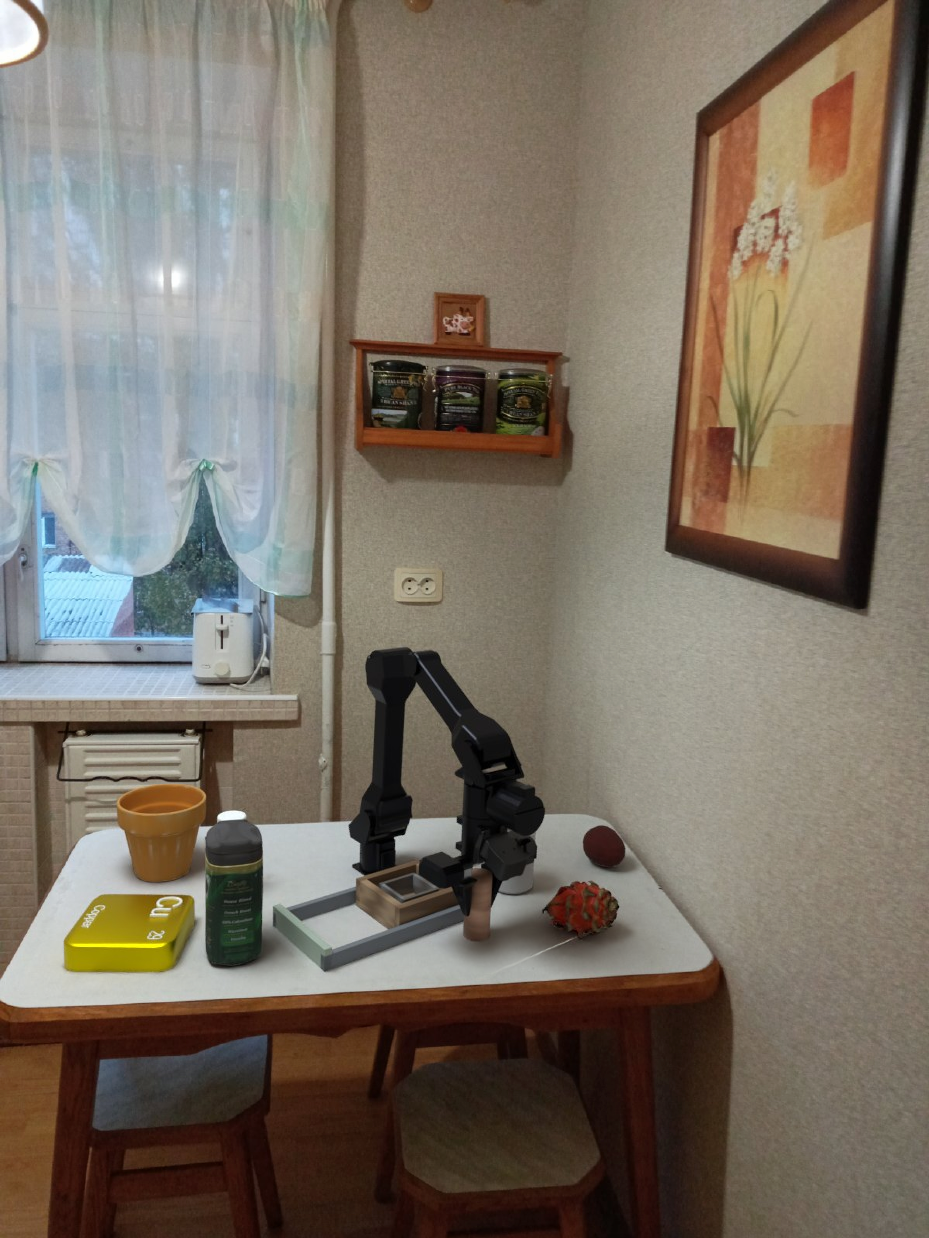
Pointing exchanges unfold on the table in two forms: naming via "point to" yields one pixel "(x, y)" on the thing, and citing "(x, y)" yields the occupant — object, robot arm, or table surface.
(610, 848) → the passion fruit
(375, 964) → the table surface
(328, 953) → the bay
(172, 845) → the flower pot
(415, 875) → the crate
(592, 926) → the dragon fruit
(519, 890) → the can
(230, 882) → the green labelled bottle
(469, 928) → the handle peg
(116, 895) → the element tile
